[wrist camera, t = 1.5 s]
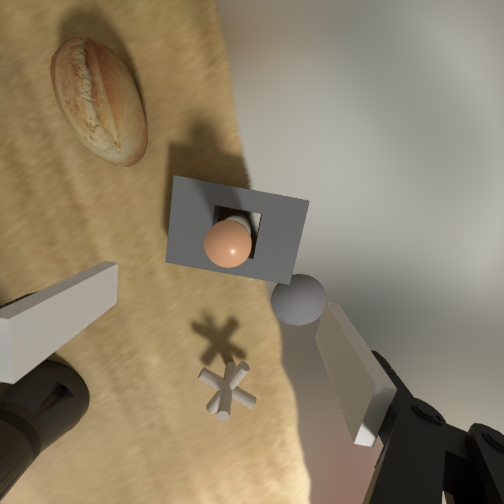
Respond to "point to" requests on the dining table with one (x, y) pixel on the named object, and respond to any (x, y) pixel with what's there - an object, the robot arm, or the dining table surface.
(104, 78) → the bread roll
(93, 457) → the dining table surface
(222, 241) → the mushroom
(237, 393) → the pipe connector
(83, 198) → the dining table surface
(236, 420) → the dining table surface
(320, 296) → the grey round plate
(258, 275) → the grey flat block
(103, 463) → the dining table surface
